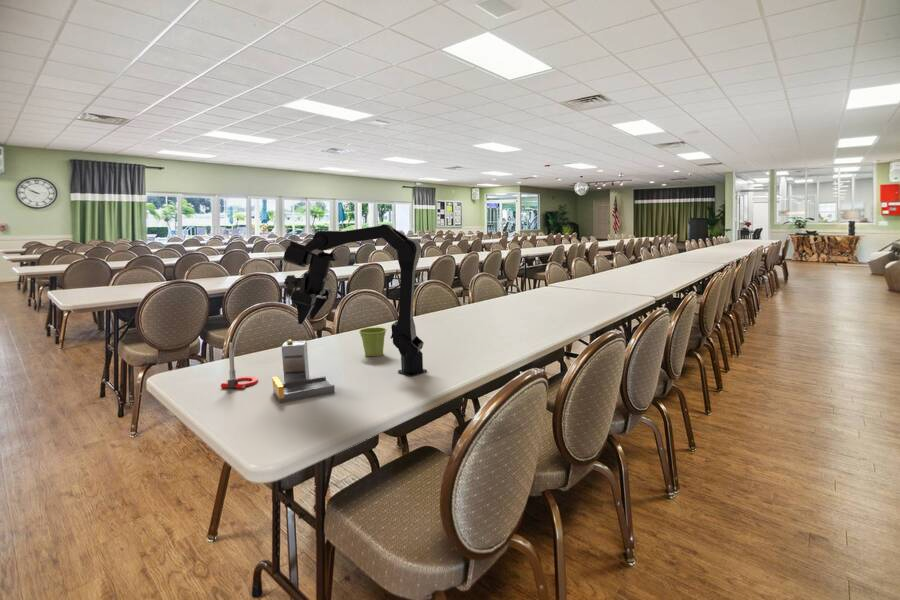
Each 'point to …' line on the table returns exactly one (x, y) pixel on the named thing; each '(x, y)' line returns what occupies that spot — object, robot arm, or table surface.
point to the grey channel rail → (301, 389)
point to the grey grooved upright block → (295, 361)
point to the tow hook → (233, 380)
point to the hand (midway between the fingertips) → (306, 321)
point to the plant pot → (373, 340)
